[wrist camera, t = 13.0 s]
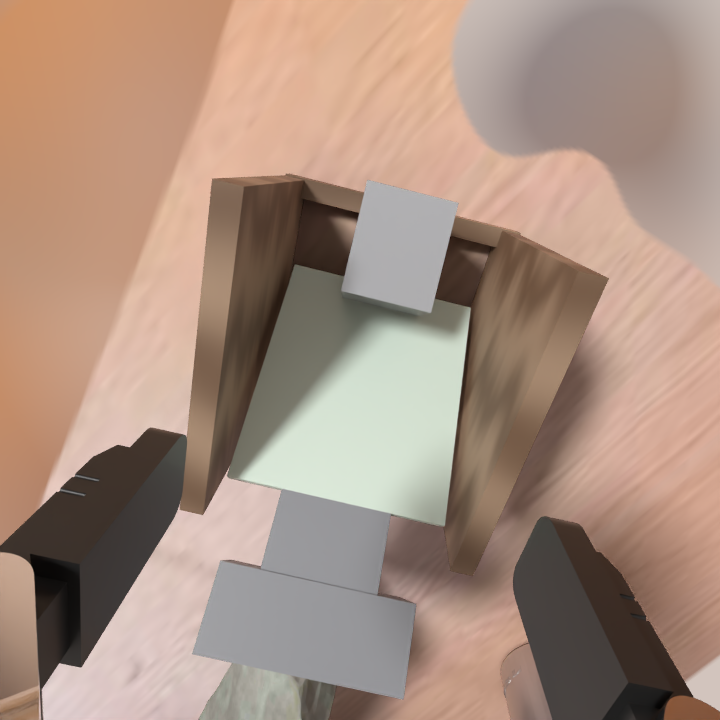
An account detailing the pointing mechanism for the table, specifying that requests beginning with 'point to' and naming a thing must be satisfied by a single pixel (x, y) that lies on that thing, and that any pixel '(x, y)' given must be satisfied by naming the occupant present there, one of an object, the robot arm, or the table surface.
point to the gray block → (398, 249)
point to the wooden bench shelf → (482, 357)
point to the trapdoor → (339, 484)
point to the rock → (268, 697)
